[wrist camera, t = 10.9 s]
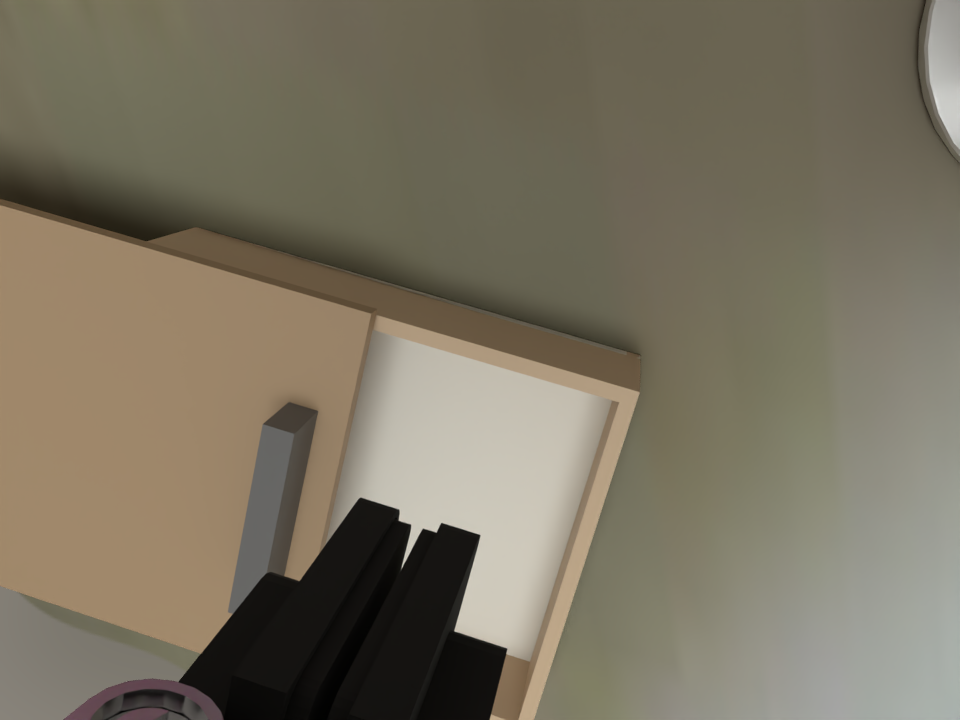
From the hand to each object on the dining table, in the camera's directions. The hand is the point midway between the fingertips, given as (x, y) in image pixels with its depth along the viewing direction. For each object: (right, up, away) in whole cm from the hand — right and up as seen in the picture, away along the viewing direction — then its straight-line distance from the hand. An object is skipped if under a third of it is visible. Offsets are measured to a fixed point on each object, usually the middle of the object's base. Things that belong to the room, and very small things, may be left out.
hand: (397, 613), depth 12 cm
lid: (-15, 0, +26) cm, 30 cm away
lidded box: (-4, -1, +30) cm, 30 cm away
